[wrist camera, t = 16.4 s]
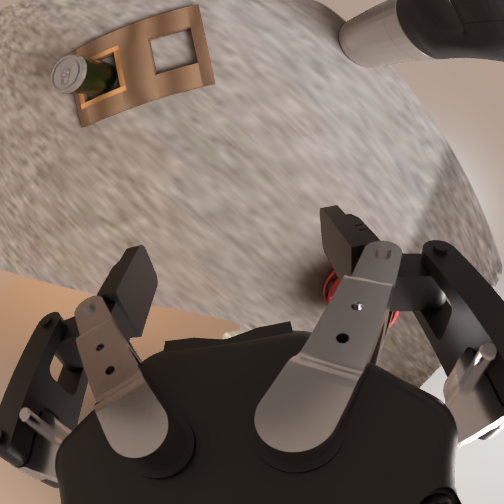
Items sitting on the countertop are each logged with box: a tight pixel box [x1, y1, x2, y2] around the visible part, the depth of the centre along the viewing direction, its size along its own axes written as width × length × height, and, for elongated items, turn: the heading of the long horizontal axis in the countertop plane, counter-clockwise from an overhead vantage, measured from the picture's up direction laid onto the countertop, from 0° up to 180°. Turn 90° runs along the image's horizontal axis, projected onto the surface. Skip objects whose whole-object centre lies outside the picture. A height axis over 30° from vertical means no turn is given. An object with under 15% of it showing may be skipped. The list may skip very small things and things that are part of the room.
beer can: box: [51, 54, 117, 94], centre depth 27 cm, size 5×5×12 cm
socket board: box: [68, 4, 215, 127], centre depth 31 cm, size 22×14×2 cm, turn 100°
